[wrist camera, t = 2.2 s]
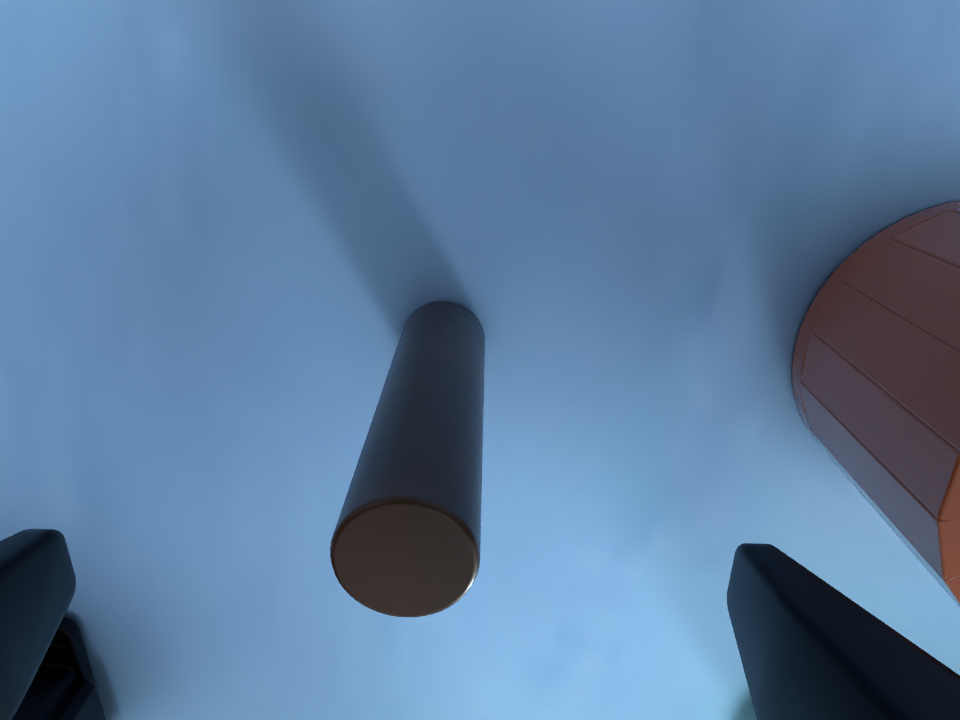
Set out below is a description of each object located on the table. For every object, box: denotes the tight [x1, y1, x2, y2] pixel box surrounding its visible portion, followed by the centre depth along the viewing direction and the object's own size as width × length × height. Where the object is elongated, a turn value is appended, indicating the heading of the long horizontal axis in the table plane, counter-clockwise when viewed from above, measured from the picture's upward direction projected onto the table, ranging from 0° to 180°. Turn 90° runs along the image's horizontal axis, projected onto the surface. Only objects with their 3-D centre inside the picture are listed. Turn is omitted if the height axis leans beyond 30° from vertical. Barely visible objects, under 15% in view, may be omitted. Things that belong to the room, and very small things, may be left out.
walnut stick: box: [330, 302, 485, 617], centre depth 13 cm, size 2×2×8 cm
